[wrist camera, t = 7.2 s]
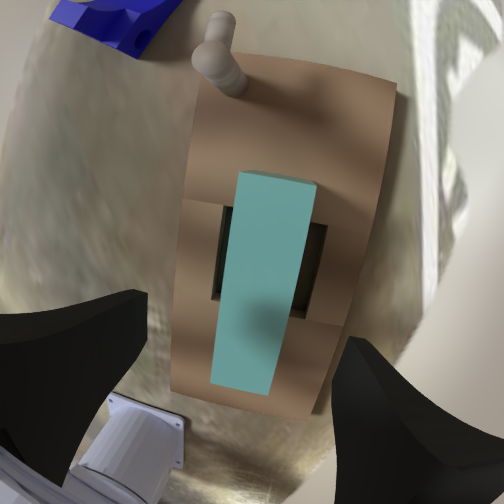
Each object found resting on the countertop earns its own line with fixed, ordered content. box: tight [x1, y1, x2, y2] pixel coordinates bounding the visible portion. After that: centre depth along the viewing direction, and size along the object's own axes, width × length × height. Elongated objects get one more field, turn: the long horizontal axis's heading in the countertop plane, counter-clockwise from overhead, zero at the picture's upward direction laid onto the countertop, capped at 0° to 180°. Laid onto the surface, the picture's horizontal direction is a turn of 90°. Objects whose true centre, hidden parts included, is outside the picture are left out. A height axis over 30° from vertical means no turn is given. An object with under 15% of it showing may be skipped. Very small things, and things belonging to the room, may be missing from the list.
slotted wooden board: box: [170, 11, 397, 421], centre depth 16 cm, size 25×11×6 cm, turn 170°
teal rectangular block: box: [210, 170, 317, 396], centre depth 16 cm, size 11×3×4 cm, turn 170°
